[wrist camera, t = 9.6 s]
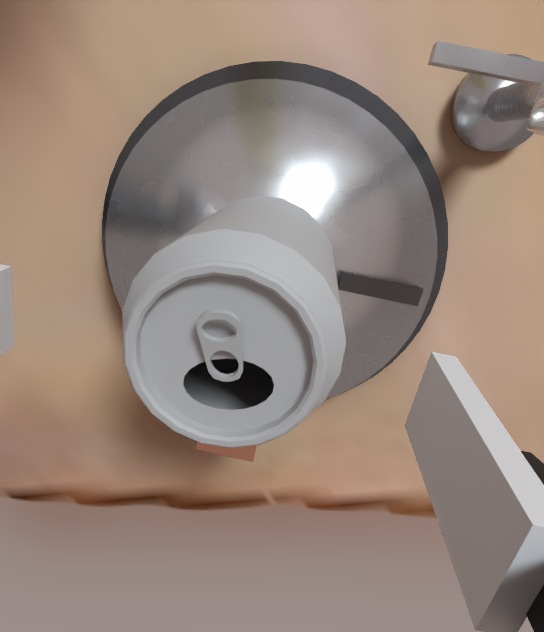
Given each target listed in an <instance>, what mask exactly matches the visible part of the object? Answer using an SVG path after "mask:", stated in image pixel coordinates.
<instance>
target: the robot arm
mask: <svg viewBox="0 0 544 632" xmlns="http://www.w3.org/2000/svg"><path fill="white" fill-rule="evenodd" d="M12 347H14V335H13V305H12V276H11V267H10V266H5V265H1V264H0V356H1V355H2V354H4V353H5V352H7V351H8V350H9V349H11V348H12ZM405 427H406V430H407V433H408V436H409V439H410V442H411V444H412V447H413V450H414V453H415V456H416V459H417V462H418V465H419V468H420V471H421V474H422V476H423V479H424V482H425V485H426V488H427V491H428V494H429V497H430V500H431V503H432V506H433V509H434V511H435V514H436V517H437V520H438V523H439V526H440V529H441V532H442V535H443V537H444V540H445V543H446V546H447V549H448V552H449V555H450V558H451V561H452V564H453V567H454V570H455V573H456V575H457V578H458V581H459V584H460V587H461V590H462V593H463V596H464V599H465V602H466V605H467V608H468V610H469V613H470V616H471V619H472V622H473V625H474V628H475V630H478V631H483V632H518V631H519V629H520V627H521V626H522V624H523V622H524V620H525V619H526V617H528V619H529V622H530V624H531V626H532V628H533V630H534V632H544V464H543V463H542V462H541V461H540V460H539V459H538V458H536V457H535V456H534V455H533V454H532V453H529V452H524V451H520V450H519V448H518V447H517V445H516V444H515V442H514V441H513V439H512V438H511V436H510V435H509V433H508V432H507V431H506V429H505V428H504V426H503V425H502V423H501V422H500V420H499V419H498V417H497V416H496V414H495V413H494V412H493V410H492V409H491V407H490V406H489V404H488V403H487V401H486V400H485V398H484V397H483V395H482V394H481V393H480V391H479V390H478V388H477V387H476V385H475V384H474V382H473V381H472V379H471V378H470V376H469V375H468V374H467V372H466V371H465V369H464V368H463V366H462V365H461V363H460V362H459V360H458V359H457V357H455V356H450V355H445V354H440V353H435V352H431V355H430V358H429V360H428V363H427V366H426V369H425V371H424V374H423V377H422V380H421V382H420V385H419V388H418V391H417V393H416V396H415V399H414V402H413V404H412V407H411V410H410V413H409V415H408V418H407V421H406V424H405Z"/></svg>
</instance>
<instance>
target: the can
mask: <svg viewBox="0 0 544 632" xmlns="http://www.w3.org/2000/svg"><path fill="white" fill-rule="evenodd" d="M122 316H123V353H124V364H125V367H126V370H127V373H128V376H129V379H130V382H131V384H132V387H133V390H134V391H135V392H136V394H137V395H138V396H139V398H140V399H141V401H142V402H143V403H144V405H145V406H146V407H147V409H148V410H149V411H150V413H151V414H152V415H154V416H155V417H156V418H158V419H159V420H160V421H161V422H163V423H164V424H165V425H166V426H168V427H169V428H170V429H172V430H173V431H174V432H176V433H179V434H181V435H183V436H186V437H188V438H190V439H192V440H195V441H197V442H199V443H202V444H208V445H215V446H221V447H228V448H236V447H245V446H253V445H261V444H263V443H266V442H268V441H270V440H273V439H275V438H278V437H280V436H282V435H285V434H287V433H288V432H289V431H291V430H292V429H293V428H294V427H295V426H296V425H298V424H299V423H300V422H301V421H302V420H303V419H305V418H306V417H307V416H308V415H309V414H310V413H311V412H312V411H313V410H314V409H315V408H317V407H318V406H319V405H320V404H321V403H322V402H324V400H325V399H326V397H327V395H328V394H329V392H330V390H331V389H332V387H333V385H334V383H335V382H336V380H337V378H338V377H339V375H340V372H341V367H342V362H343V356H344V351H345V346H346V337H345V331H344V324H343V317H342V310H341V304H340V297H339V290H338V283H337V277H336V270H335V264H334V257H333V251H332V245H331V243H330V241H329V239H328V237H327V236H326V234H325V232H324V230H323V228H322V226H321V225H320V224H319V223H318V222H317V221H316V220H315V219H314V218H313V217H312V216H311V215H310V214H309V213H308V212H307V211H306V210H305V209H304V208H302V207H300V206H298V205H295V204H293V203H291V202H289V201H287V200H285V199H283V198H276V197H268V196H260V195H259V196H254V197H249V198H244V199H239V200H236V201H234V202H232V203H231V204H229V205H227V206H225V207H224V208H222V209H220V210H219V211H217V212H215V213H214V214H212V215H211V216H210V217H208V218H207V219H205V220H204V221H202V222H201V223H199V224H198V225H196V226H195V227H193V228H192V229H190V230H189V231H187V232H186V233H185V234H183V235H182V236H180V237H179V238H177V239H176V240H174V241H173V242H171V243H170V244H168V245H167V246H165V247H164V248H162V249H161V250H159V251H158V252H157V253H155V254H154V255H153V256H152V258H151V259H150V260H149V261H148V262H147V264H146V265H145V266H144V267H143V268H142V270H141V271H140V272H139V273H138V275H137V276H136V277H135V278H134V279H133V282H132V284H131V287H130V290H129V293H128V296H127V299H126V302H125V305H124V308H123V311H122Z"/></svg>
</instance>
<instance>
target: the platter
mask: <svg viewBox="0 0 544 632" xmlns="http://www.w3.org/2000/svg"><path fill="white" fill-rule="evenodd" d="M259 195H260V196H268V197H276V198H283V199H285V200H287V201H289V202H291V203H293V204H295V205H298V206H300V207H302V208H304V209H305V210H306V211H307V212H308V213H309V214H310V215H311V216H312V217H313V218H314V219H315V220H316V221H317V222H318V223H319V224H320V225H321V226H322V228H323V230H324V232H325V234H326V236H327V237H328V239H329V241H330V243H331V245H332V251H333V257H334V264H335V270H336V277H337V283H338V290H339V297H340V304H341V310H342V317H343V324H344V331H345V337H346V346H345V351H344V356H343V362H342V367H341V372H340V375H339V377H338V378H337V380H336V382H335V383H334V385H333V387H332V389H331V390H330V392H329V394H328V395H327V397H326V399H327V398H330V397H334V396H336V395H338V394H340V393H343V392H345V391H347V390H349V389H352V388H353V387H355V386H357V385H358V384H360V383H362V382H363V381H365V380H367V379H368V378H370V377H371V376H372V375H373V374H375V373H376V372H377V371H379V370H380V369H381V368H382V367H384V366H385V365H386V364H387V363H388V362H389V361H390V360H391V359H392V358H393V357H394V356H395V355H396V354H397V353H398V352H399V350H400V349H401V348H402V346H403V345H404V344H405V342H406V341H407V340H408V339H409V337H410V336H411V334H412V333H413V331H414V329H415V327H416V326H417V324H418V322H419V321H420V319H421V317H422V314H423V312H424V310H425V307H426V305H427V302H428V300H429V297H430V293H431V289H432V286H433V282H434V278H435V271H436V263H437V230H436V223H435V217H434V211H433V207H432V204H431V201H430V197H429V194H428V190H427V188H426V186H425V183H424V181H423V179H422V177H421V175H420V173H419V170H418V168H417V166H416V165H415V163H414V162H413V160H412V159H411V157H410V156H409V154H408V152H407V151H406V149H405V148H404V146H403V145H402V144H401V143H400V142H399V141H398V140H397V138H396V137H395V136H394V135H393V134H392V133H391V131H390V130H389V129H388V128H387V127H386V126H384V125H383V124H382V123H381V122H380V121H379V120H377V119H376V118H375V117H374V116H373V115H372V114H370V113H369V112H368V111H366V110H365V109H363V108H361V107H360V106H358V105H357V104H355V103H354V102H352V101H350V100H349V99H347V98H345V97H342V96H340V95H338V94H336V93H334V92H331V91H329V90H327V89H324V88H321V87H317V86H314V85H310V84H306V83H303V82H297V81H289V80H281V79H251V80H245V81H239V82H233V83H227V84H224V85H221V86H218V87H215V88H212V89H209V90H206V91H203V92H201V93H199V94H197V95H195V96H193V97H191V98H189V99H187V100H185V101H183V102H182V103H180V104H179V105H178V106H176V107H175V108H173V109H172V110H170V111H169V112H168V113H166V114H165V115H163V116H162V117H161V118H160V119H159V120H158V121H157V122H156V123H155V124H154V125H153V126H152V127H151V128H150V129H149V130H148V131H147V132H146V133H145V134H144V135H143V137H142V138H141V139H140V140H139V142H138V143H137V144H136V146H135V147H134V148H133V149H132V151H131V153H130V155H129V156H128V158H127V160H126V161H125V163H124V165H123V167H122V168H121V171H120V173H119V176H118V178H117V181H116V183H115V186H114V188H113V191H112V195H111V199H110V203H109V207H108V213H107V221H106V230H105V238H106V257H107V264H108V271H109V275H110V279H111V283H112V286H113V290H114V293H115V295H116V298H117V300H118V303H119V305H120V308H121V310H122V311H123V308H124V305H125V302H126V299H127V296H128V293H129V290H130V287H131V284H132V282H133V279H134V278H135V277H136V276H137V275H138V273H139V272H140V271H141V270H142V268H143V267H144V266H145V265H146V264H147V262H148V261H149V260H150V259H151V258H152V256H153V255H154V254H155V253H157V252H158V251H159V250H161V249H162V248H164V247H165V246H167V245H168V244H170V243H171V242H173V241H174V240H176V239H177V238H179V237H180V236H182V235H183V234H185V233H186V232H187V231H189V230H190V229H192V228H193V227H195V226H196V225H198V224H199V223H201V222H202V221H204V220H205V219H207V218H208V217H210V216H211V215H212V214H214V213H215V212H217V211H219V210H220V209H222V208H224V207H225V206H227V205H229V204H231V203H232V202H234V201H236V200H239V199H244V198H249V197H254V196H259ZM196 450H201V451H205V452H210V453H215V454H219V455H224V456H228V457H233V458H238V459H242V460H247V461H251V462H253V459H254V454H255V450H256V445H253V446H245V447H236V448H228V447H221V446H215V445H208V444H202V443H199V442H197V446H196Z"/></svg>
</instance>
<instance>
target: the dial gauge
mask: <svg viewBox="0 0 544 632" xmlns="http://www.w3.org/2000/svg"><path fill="white" fill-rule="evenodd" d="M428 65H433V66H438V67H443V68H448V69H453V70H458V71H463V72H468V74H467V75H466V77H465V78H464V79H463V80H462V82H461V83H460V85H459V86H458V88H457V90H456V92H455V95H454V98H453V102H452V108H451V117H452V123H453V127H454V129H455V132H456V133H457V135H458V137H459V138H460V139H461V140H462V141H463V142H464V143H465V144H466V145H468V146H470V147H472V148H474V149H477V150H481V151H504V150H508V149H511V148H514V147H516V146H518V145H520V144H521V143H523V142H524V141H526V140H527V139H528V138H529V137H530V136H532V134H533V133H536V134H539V135H542V136H544V62H540V61H535V60H531V59H530V58H527V57H525V56H522V55H516V54H507V55H505V54H500V53H495V52H490V51H485V50H480V49H475V48H470V47H465V46H460V45H455V44H450V43H445V42H440V41H437V42H436V43H435V44H434V45H433V48H432V52H431V55H430V59H429V62H428Z"/></svg>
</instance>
